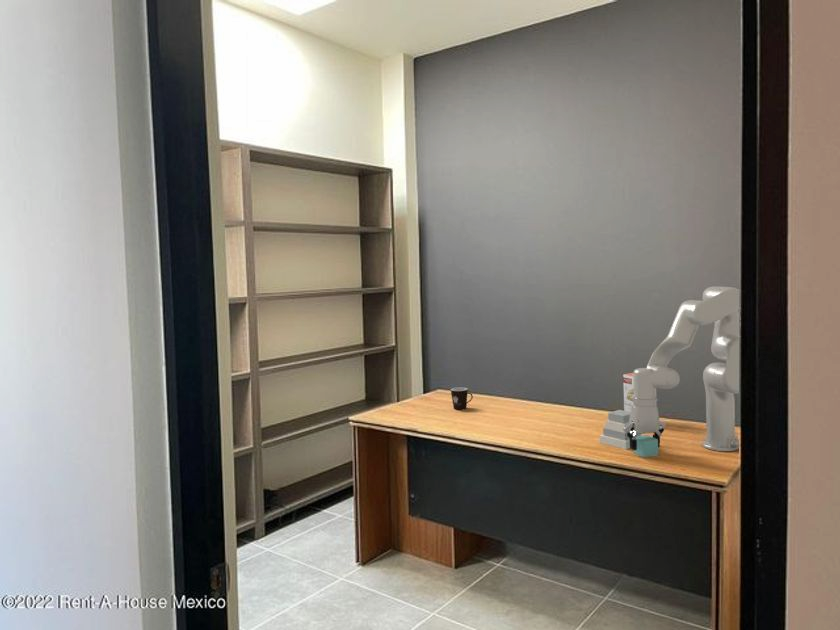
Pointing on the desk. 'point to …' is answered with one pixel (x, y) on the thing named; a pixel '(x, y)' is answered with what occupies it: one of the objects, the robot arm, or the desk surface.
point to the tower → (616, 430)
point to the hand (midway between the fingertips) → (644, 447)
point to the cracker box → (629, 391)
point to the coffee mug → (460, 398)
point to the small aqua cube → (646, 446)
